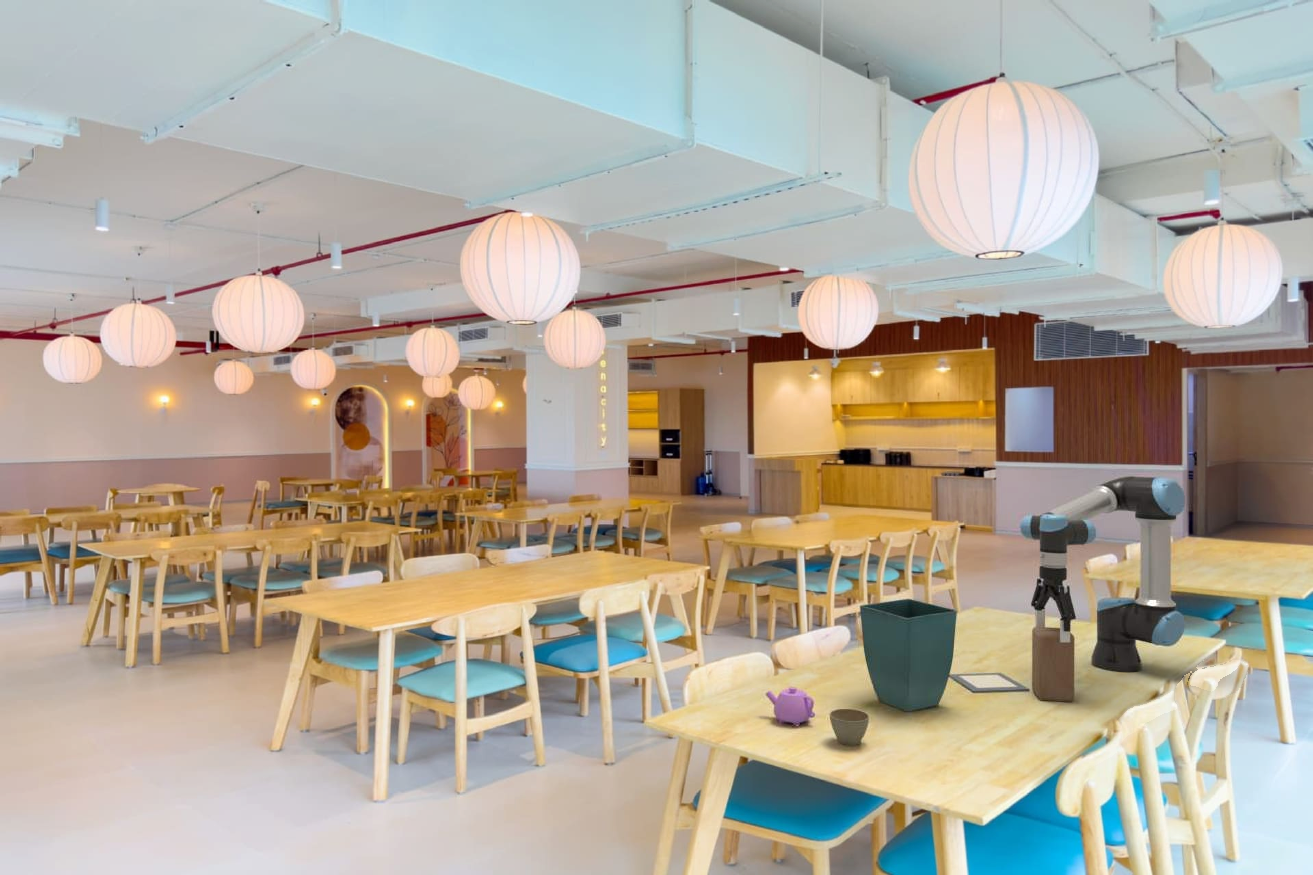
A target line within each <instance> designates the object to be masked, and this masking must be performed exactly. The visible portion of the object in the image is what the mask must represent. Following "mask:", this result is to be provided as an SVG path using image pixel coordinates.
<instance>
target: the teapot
mask: <svg viewBox="0 0 1313 875" xmlns="http://www.w3.org/2000/svg"><path fill="white" fill-rule="evenodd" d="M765 696H766V697H767V698H768V699H769V701H770V702H771V703H772V704H773V714H774V716H775V717H776V719H777V720H778V721H779V722H781V723H780V724H783V723H784V722H785V723H792V725H793V726H794V725H800V726H801V724H800V723H805V722H804V721H806V722H808V720H809V719H810V718H811V719H813V718H815V716H816V713H815V712H814V711H813V708H814V704H815V702H814V701H815V700H814V699H813V698H812V697H811V696H810V695H808V694H807V692H806V691H804V690H803V689H798V688H797V687H795V686H790V687H788V688H786V689H783V690H781V691H780V693H779V694H778V696H777V697H776V695H774V694H773V692H772V691H771V690H768V691H767V692H766V693H765ZM779 722H778V723H779ZM785 723H784V724H785Z"/></svg>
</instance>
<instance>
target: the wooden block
mask: <svg viewBox="0 0 1313 875" xmlns="http://www.w3.org/2000/svg"><path fill="white" fill-rule="evenodd" d="M1031 633H1032V634H1031V635H1032V636H1031V643H1032V645H1031V647H1032V648H1031V658H1032V659H1031V680H1032V681H1031V689H1032V692H1034V694H1035V695H1036V697H1037V698H1038V699H1039V700H1041V701H1053V702H1054V701H1055V702H1069V703H1071V702H1074V700H1075V636H1074V634H1072V633H1071V632H1070V642H1060V627H1050V626H1048V627H1046V626H1045V627H1033V628H1032V630H1031Z"/></svg>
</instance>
